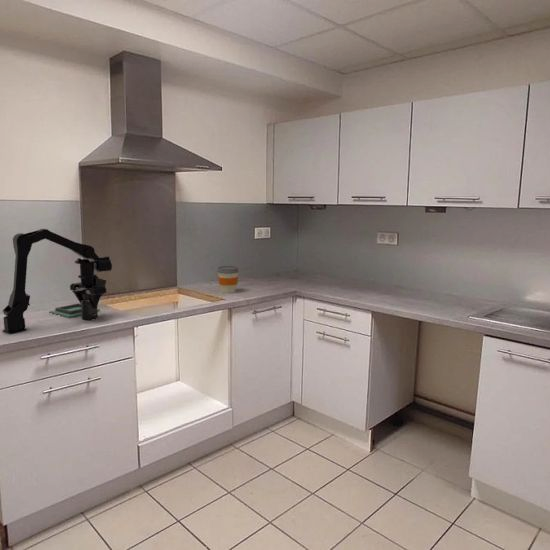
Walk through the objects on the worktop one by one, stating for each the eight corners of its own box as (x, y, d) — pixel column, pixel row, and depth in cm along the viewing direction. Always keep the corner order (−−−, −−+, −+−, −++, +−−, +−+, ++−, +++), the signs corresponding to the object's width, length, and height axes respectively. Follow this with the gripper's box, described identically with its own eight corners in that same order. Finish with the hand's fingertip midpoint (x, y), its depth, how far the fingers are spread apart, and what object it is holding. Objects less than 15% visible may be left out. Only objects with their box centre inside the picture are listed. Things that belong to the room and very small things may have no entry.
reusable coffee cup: (237, 294, 254) (237, 269, 251) (216, 293, 254) (216, 268, 251) (239, 290, 266) (239, 266, 264) (219, 289, 266) (218, 265, 264)
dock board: (69, 318, 195) (68, 313, 195) (49, 313, 204) (48, 308, 203) (99, 311, 209) (99, 306, 208) (79, 306, 217) (79, 302, 217)
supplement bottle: (78, 319, 195) (77, 293, 193) (92, 316, 200) (90, 290, 198) (87, 321, 191) (86, 295, 189) (101, 318, 196) (99, 292, 194)
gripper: (115, 272, 194) (117, 306, 196) (90, 269, 204) (92, 301, 206) (94, 275, 185) (96, 311, 187) (68, 271, 194) (70, 305, 197)
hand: (89, 306), depth 195 cm, fingers open, 9 cm apart
